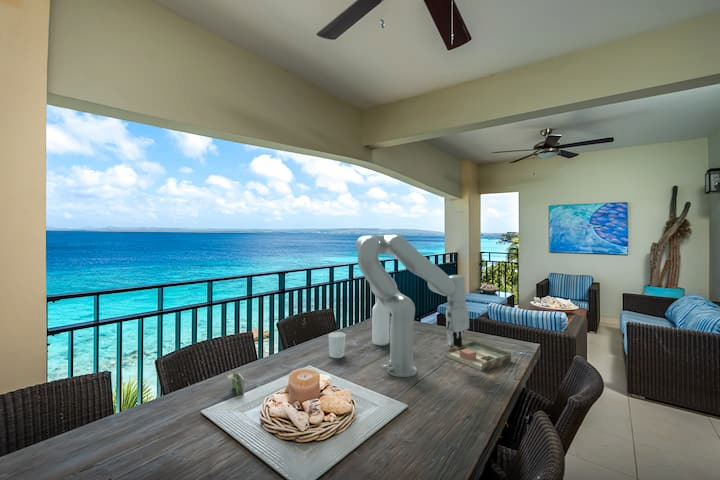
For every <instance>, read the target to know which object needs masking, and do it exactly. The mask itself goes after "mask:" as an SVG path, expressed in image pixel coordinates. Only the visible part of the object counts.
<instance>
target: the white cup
mask: <svg viewBox="0 0 720 480" xmlns="http://www.w3.org/2000/svg"><path fill="white" fill-rule="evenodd" d="M345 348H346V333H344V332H341V331H333V332H330V333H329V334H328V350H329V357H330V358H333V359H342V358H343V357H345Z"/></svg>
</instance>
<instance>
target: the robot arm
mask: <svg viewBox="0 0 720 480" xmlns="http://www.w3.org/2000/svg"><path fill="white" fill-rule="evenodd" d="M355 250H356V251H357V253H358V254H357V266H358V269H359V271H360V273H361V274H362V275H363V277H364V278H365V279H366V281H367V282H368V283H369V287H370V290H371V292H372V294H373V295H374V296H375V297H376V299H377V298H378V299H379V301H380V302H381V303H382V304H383V306H384V307H385V308H386V309H387V310H388V311H389V314H391V320H390V322H389V350H390V351H389V360H387V363H386V364H383V365H380V370H381V371H386V373H387V374H389V375H390V376H393V377H396V378H410V377H414V376H415V375H417V371H418V370H417V367H416V366H415V365H414V322H415V321H414V320H415V315H416V314H415V313H416V307H415V303H414V302H413V300H412V299H411V298H410V297H409V296H406V295H405V294H403V293H401V292H400V290H399V289H398V285H397V283H396V281H395V279H394V278H393V277H392V276H391V275H390V274H389V272H387V270H386V268H384V266H383V264H382V263H381V262H380V260H379V255H391V256H392V257H394V258H395V259H396V260H397V261H398V262H399V263H401V264H402V265H403V266H404V267H405V268H406V269H407V270H408V271H409V272H411V273H412V274H414V275H416V276H418V277H420V278H422V279H423V280H425V281H426V282H427V287H428V289H429V290H430V291H431V292H432V293H436V294H439V295H441V296H443V297H447V298H446V299H447V304H446V305H447V309H446V310H447V314H446V313H445V319H446V320H445V321H446V323H445V325H446V327H445V328H446V331H447V330H448V334H449V335H452V336H453V340H454V345H453V346H456V347H462V345H463V340H462V339H463V337H464V333H465V332H466V331H468V330H469V329H470V317H469V310H468V307H467V304H466V303H467V302H466V300H467V299H466V298H467V297H466V295H467V294H466V293H467V292H466V278H465V276H464V275H462V274H451V275H450V274H449V275H448V273H446V272H445V271H444V270H443V269H442V268H440V267H439V266H438V265H436V264H435V263H434V262H432V261H431V260H430V259H428V258H427V257H426V256H424V255H423V254H422V253H421V252H419V251H418V250H417V249H416V247H414V246H413V245H412V244H411V243H410V242H409V241H408V240H407V239H406V238H405V237H403V236H402V235H400V234H375V235H374V234H373V235H372V234H371V235H367V234H365V235H362V236H360V237H358V238H357V240H356V242H355Z"/></svg>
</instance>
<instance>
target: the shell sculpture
mask: <svg viewBox="0 0 720 480" xmlns="http://www.w3.org/2000/svg"><path fill="white" fill-rule="evenodd" d="M446 314H447V309H446V310H445V315H446ZM446 331H447V333H446V336H447V344H448V346H449V347H450V348H452V347H456V346H454V340H453V336H452V335H449V334H448V330H447V329H446Z"/></svg>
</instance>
